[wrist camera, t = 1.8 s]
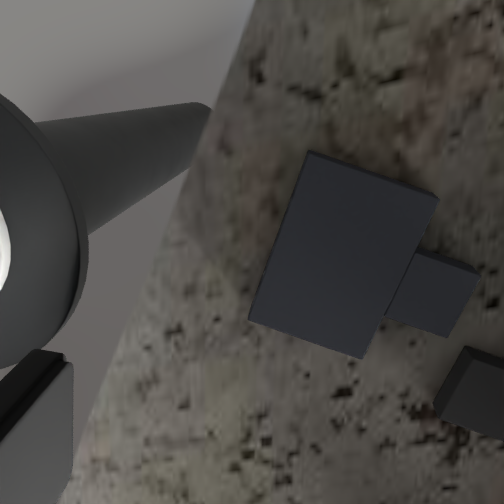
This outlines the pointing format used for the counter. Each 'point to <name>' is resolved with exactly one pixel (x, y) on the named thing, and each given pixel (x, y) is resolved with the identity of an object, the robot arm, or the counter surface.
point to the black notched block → (474, 394)
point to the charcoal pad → (357, 261)
